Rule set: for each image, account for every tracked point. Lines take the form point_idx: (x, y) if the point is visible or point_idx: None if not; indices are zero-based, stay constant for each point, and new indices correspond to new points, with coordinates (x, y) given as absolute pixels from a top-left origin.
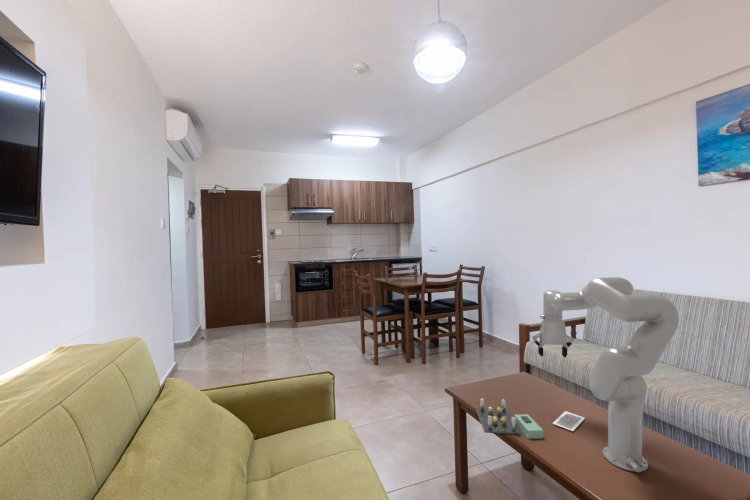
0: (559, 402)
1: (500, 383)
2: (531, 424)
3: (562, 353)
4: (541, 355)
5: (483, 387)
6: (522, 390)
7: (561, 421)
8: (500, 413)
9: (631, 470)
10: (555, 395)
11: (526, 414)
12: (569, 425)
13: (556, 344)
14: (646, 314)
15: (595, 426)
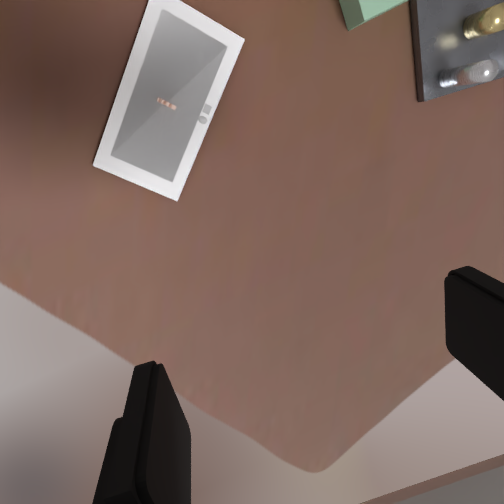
0: (196, 288)
1: (408, 358)
2: None
3: (184, 442)
4: (472, 276)
5: None
6: (332, 334)
7: (201, 78)
8: (478, 12)
9: None
10: (207, 346)
11: (371, 15)
12: (167, 47)
13: (386, 499)
14: None
15: (50, 106)
